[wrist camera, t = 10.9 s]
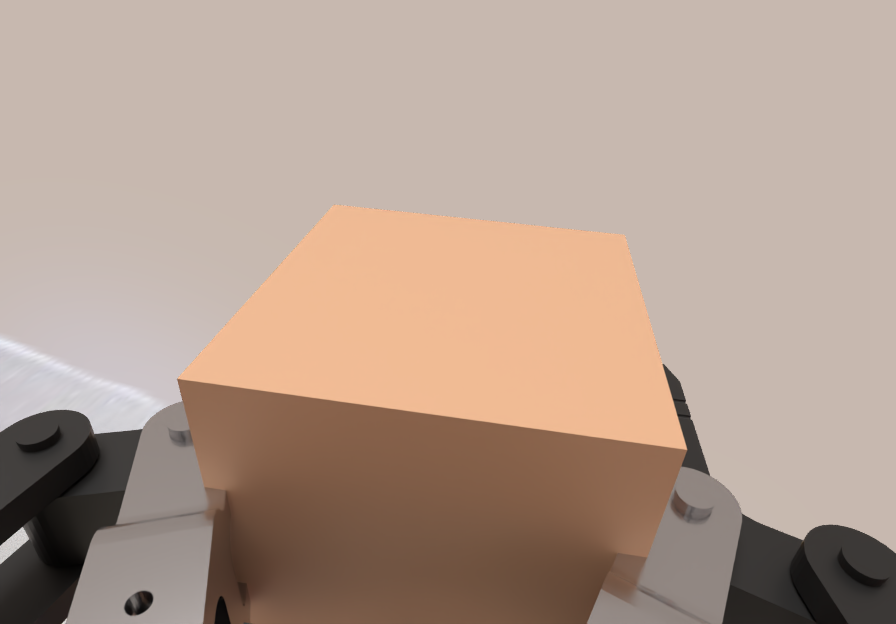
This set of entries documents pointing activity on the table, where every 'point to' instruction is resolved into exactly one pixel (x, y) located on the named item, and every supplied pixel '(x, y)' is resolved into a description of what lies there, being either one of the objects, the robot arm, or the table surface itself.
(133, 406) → the table surface
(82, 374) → the table surface
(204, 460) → the block
